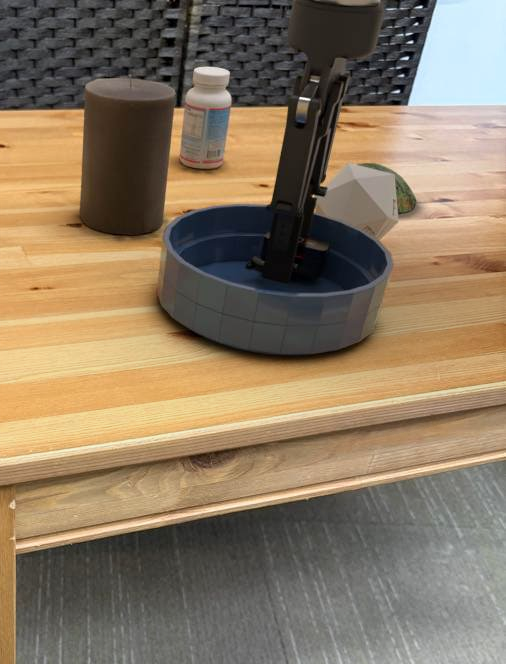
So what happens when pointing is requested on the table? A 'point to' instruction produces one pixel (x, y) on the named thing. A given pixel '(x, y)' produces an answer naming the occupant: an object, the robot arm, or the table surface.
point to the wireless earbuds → (299, 257)
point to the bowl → (269, 283)
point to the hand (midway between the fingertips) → (282, 269)
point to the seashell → (397, 188)
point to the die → (361, 199)
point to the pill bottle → (206, 119)
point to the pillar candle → (125, 154)
